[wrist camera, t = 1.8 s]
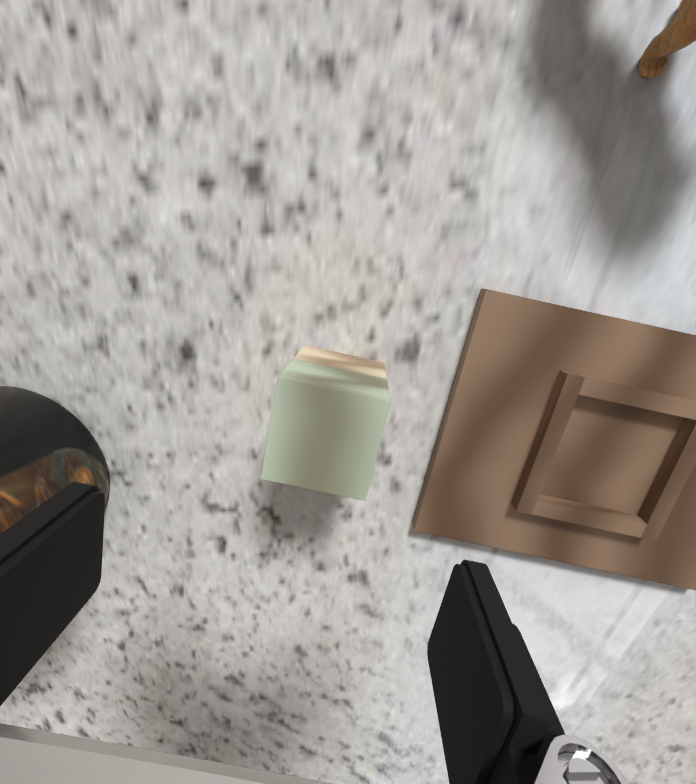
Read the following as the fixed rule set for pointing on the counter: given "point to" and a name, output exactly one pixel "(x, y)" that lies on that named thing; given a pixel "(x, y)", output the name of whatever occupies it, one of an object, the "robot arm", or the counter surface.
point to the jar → (42, 453)
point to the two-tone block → (327, 423)
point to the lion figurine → (670, 40)
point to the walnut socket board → (570, 441)
